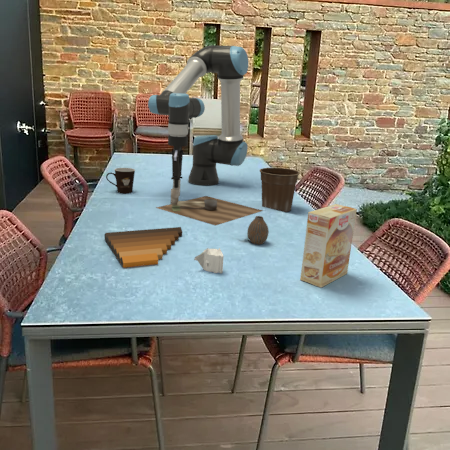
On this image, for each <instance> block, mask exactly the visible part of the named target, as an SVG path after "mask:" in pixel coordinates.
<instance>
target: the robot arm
mask: <svg viewBox="0 0 450 450" xmlns="http://www.w3.org/2000/svg"><path fill="white" fill-rule="evenodd" d="M248 68H249V57H248V53H247V51H246V49H245V48H244V47H242V46H236V45H213V44H210V45H207V46H204V47H202V48H200V49H199V50H197V51H196V52H194V53H193V54H192V55H191V56H190V57H189V58H188V59H187V60H186V65H185V66H184V68H183V69H181V70H180V71H179V73H178V74H177V75H176V76H175V77H174V78H173V79H172V81H171V82H170V83H169V84H168V85H167V86H166V88H165V89H164V90H163V91H162V92H161V93H160V94H152V95H151V96H150V97H149V99H148V102H147V105H148V106H147V107H148V111H149V112H150V113H151V114H155V115H159V116H161V115H162V116H168V127H167V133H168V136H167V145H168V146H170V147H173V149H172V150H171V162H172V163H171V166H172V168H171V169H172V170H171V171H172V173H171V174H172V176H171V180H172V189H173V188H175V189H179V197H180V195H181V179H183V176H182V170H183V159H184V158H183V157H184V156H183V155H184V149H183V147H184V148H185V147H188V145H189V143H188V142H189V137H188V134H189V130H190V126H189V119H196V118H198V117H201V116H203V114H204V112H205V110H206V109H205V103H204V101H203V100H202V99H200V98H197V97H190V95H189V94H188V91H189V90H190V89H191V88H192V86H194V84H195V83H197V81H198V80H199V78H201V77H202V78H203V77H204V76H205V75H206V74H209V73H212V74H217V80H219V81H220V94H221V95H220V98H221V99H220V100H221V103H220V104H221V108H220V109H221V118H220V119H221V134H219V136H218V135H216V134H213V135H211V134H209V135H208V134H207V135H206V134H205V135H199V136H196V137H194V139H193V145H192V150H193V151H192V167H191V170H190V173H189V175H188V179H187V180H188V181H187V182H188V183H190V184H192V185H197V186H217V185H218V184H219V182H220V178H219V174H218V170H217V164H218V165H219V164H220V165H227V166H228V165H229V166H234V167H235V166H237V167H239V166H241V165H243V163H244V162H245V159H246V157H247V154H248V147H249V146H248V143H247V142H246V141H244V136H243V135H242V134H241V81H242V80H243V79H244V75H246V74H247V73H248Z"/></svg>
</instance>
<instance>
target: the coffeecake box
mask: <svg viewBox="0 0 450 450" xmlns="http://www.w3.org/2000/svg"><path fill="white" fill-rule="evenodd" d="M357 211H358V210H357V208H354V207H351V206H346V205H341V204H338V203H334V204H332V205H328V206H326V207H322V208H318V209H315V210H311V211H308V212H307V222H306V230H305V236H304V238H305V239H304V245H303V246H304V247H303V252H302V253H303V255H302V263H301V272H300V278H299V279H300V281H302V282H306V283H308V284H310V285H313V286H316V287H317V288H320V289H321V288H324V287H325V286H327V285H329V284H331V283H332V282H334V281H336V280H338V279H341V278H342V277H343V276H346V275H347V274H348V271H349V263H350V258H351V257H350V255H351V252H352V251H351V249H352V243H353V236H354V230H355V224H356V217H357Z"/></svg>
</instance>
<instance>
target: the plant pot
mask: <svg viewBox="0 0 450 450" xmlns="http://www.w3.org/2000/svg"><path fill="white" fill-rule="evenodd" d="M259 172H260V181H261V207H263V208H266V209H270V210H274V211H279V212H283V213H288V212H290V211H291V210H292V206H293V201H294V196H295V191H296V190H295V189H296V185H297V183H298V179H299V178H298V177H299V175H300V171H298V170H295V169H292V168H291V169H290V168H286V167H285V168H284V167H263V168H260V169H259Z"/></svg>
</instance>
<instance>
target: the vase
mask: <svg viewBox="0 0 450 450" xmlns="http://www.w3.org/2000/svg"><path fill="white" fill-rule="evenodd" d="M246 234H247V237H248V241H250V242H251V244H253V245H263V244H264V243H265V242H266V241H267V239H268V236H269V226H268V224H267V222H266V221H265V220H264V217H263V216H262V215H256V216H255V217H254V219H253V220H252V221H251V222H250V223H249V225H248V227H247V233H246Z"/></svg>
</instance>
